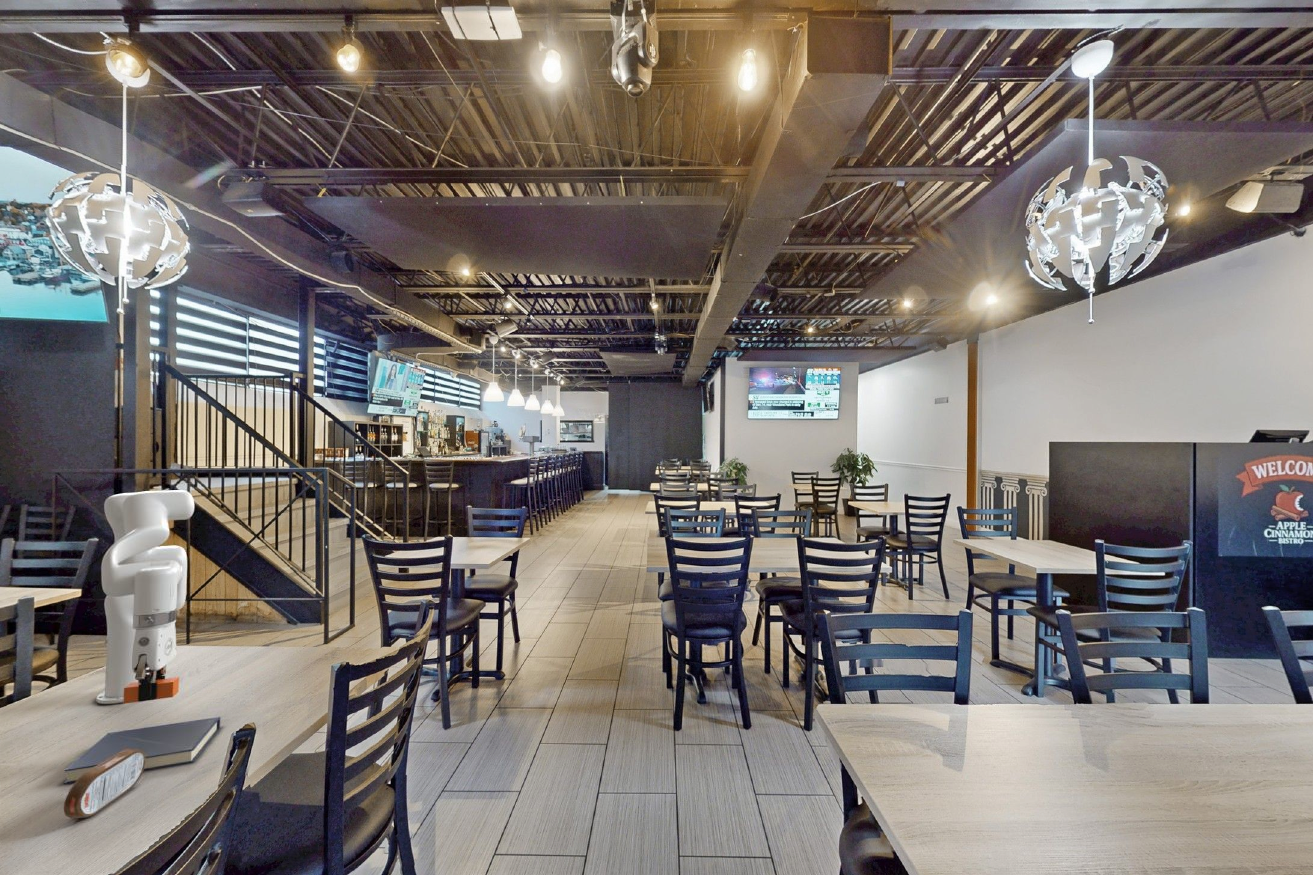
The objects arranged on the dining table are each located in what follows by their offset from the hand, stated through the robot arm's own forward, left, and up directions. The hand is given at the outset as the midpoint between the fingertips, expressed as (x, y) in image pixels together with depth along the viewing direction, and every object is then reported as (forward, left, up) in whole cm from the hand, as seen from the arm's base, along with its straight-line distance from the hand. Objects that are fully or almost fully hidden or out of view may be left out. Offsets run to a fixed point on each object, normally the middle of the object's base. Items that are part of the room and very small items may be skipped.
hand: (151, 695), depth 125 cm
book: (0, 0, -13) cm, 13 cm away
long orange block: (0, 0, 0) cm, 0 cm away
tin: (+19, +1, -14) cm, 24 cm away
